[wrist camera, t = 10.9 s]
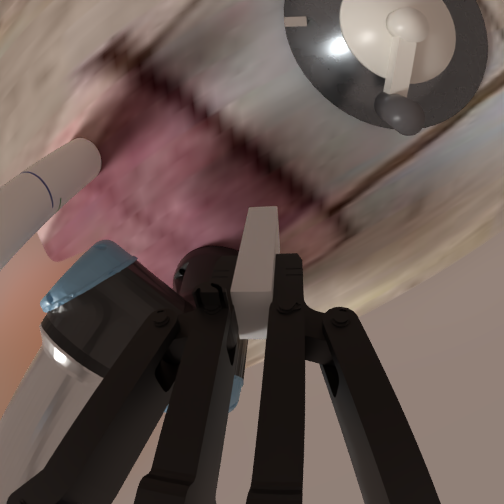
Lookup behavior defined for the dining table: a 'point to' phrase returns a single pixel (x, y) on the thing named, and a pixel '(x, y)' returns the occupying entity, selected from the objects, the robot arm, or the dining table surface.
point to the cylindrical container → (43, 192)
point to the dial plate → (369, 84)
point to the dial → (399, 50)
